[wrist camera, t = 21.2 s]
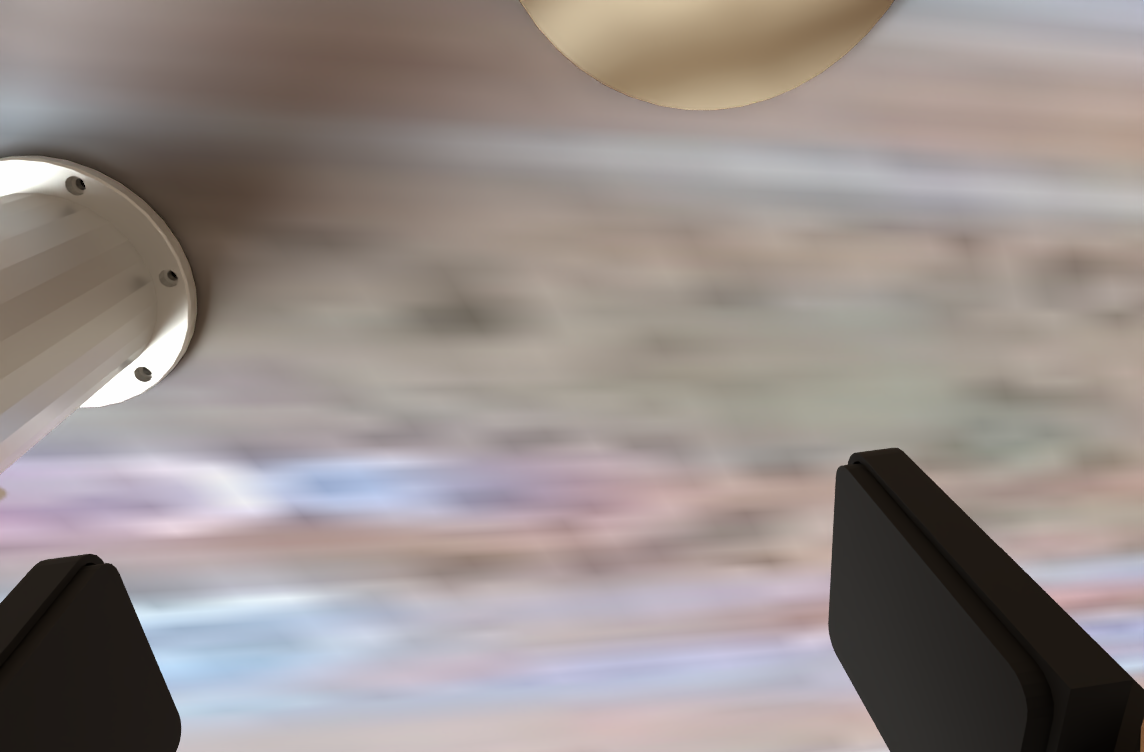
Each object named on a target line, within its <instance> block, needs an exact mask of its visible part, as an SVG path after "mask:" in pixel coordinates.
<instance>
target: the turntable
mask: <svg viewBox="0 0 1144 752" xmlns="http://www.w3.org/2000/svg"><path fill="white" fill-rule="evenodd" d="M519 1H520V3H521V4H522V5H523V7H524V8H525V10H526V11H527V13H528V14H529V16H530V17H531V19H532V20H533V21H534V23H535V24H536V26H537V27H538V29H539V30H540V31H541V32H542V33H543V34H544V35H545V36H546V37H547V39H548V40H549V41H550V42H551V43H552V44H553V45H554V46H555V48H556V49H557V50H558V51H559V52H560V53H562V54H563V55H564V56H565V57H566V58H567V59H569V60H570V61H571V62H572V63H573V64H574V65H576V66H577V67H578V68H579V69H580V70H582V71H583V72H585V73H587V74H588V75H590V76H591V77H593V78H594V79H596V80H597V81H599V82H600V83H602V84H604V85H606V86H608V87H610V88H612V89H614V90H616V91H619V92H621V93H623V94H625V95H627V96H630V97H633V98H636V99H639V100H642V101H646V102H649V103H652V104H656V105H659V106H665V107H671V108H678V109H684V110H719V109H727V108H735V107H742V106H746V105H749V104H753V103H757V102H760V101H764V100H768V99H770V98H773V97H775V96H778V95H780V94H782V93H785V92H787V91H789V90H792V89H794V88H796V87H798V86H800V85H801V84H803V83H805V82H807V81H808V80H810V79H812V78H814V77H815V76H817V75H819V74H820V73H822V72H823V71H824V70H826V69H827V68H828V67H830V66H831V65H832V64H834V63H835V62H836V61H838V60H839V59H840V58H842V57H843V56H844V55H846V54H847V53H848V52H849V51H850V50H851V49H852V48H853V47H854V46H855V45H856V44H857V43H858V42H859V41H860V40H861V39H862V38H863V37H864V36H865V35H867V34H868V32H869V31H870V30H871V29H872V28H873V26H874V25H875V24H876V23H877V22H878V20H879V19H880V18H881V17H882V16H883V15H884V13H885V12H886V11H887V10H888V9H889V7H890V6H891V4H892V3H893V1H894V0H519Z"/></svg>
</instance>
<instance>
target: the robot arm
mask: <svg viewBox="0 0 1144 752" xmlns="http://www.w3.org/2000/svg"><path fill="white" fill-rule="evenodd" d="M80 180H83V182H84V184H85V186H86V188H84V187H83V186H82V185H81V183H80ZM171 271H173V272H174V273H175V274H176V275H177V277H178V278H175V277H173V276H172V274H171ZM196 316H197V297H196V287H195V283H194V279H193V275H192V272H191V268H190V265H189V263H188V260H187V258H186V256H185V254H184V252H183V250H182V248H181V246H180V243H179V242H178V240H177V239H176V238H175V236H174V235H173V233H172V232H171V230H170V229H169V228H168V226H167V225H166V223H165V222H164V220H163V219H162V218H161V217H160V216H159V215H158V214H157V213H156V212H155V211H154V210H153V209H152V208H151V207H150V206H149V205H148V204H147V203H146V202H145V201H144V200H143V199H141V198H140V197H139V196H137V195H136V194H135V193H133V192H132V191H131V190H129V189H128V188H127V187H125V186H124V185H123V184H121V183H119V182H118V181H116V180H114V179H112V178H110V177H108V176H106V175H104V174H103V173H101V172H99V171H97V170H95V169H92V168H89V167H86V166H83V165H80V164H77V163H74V162H72V161H69V160H63V159H57V158H51V157H45V156H10V157H6V158H0V474H1V473H3V472H4V471H5V470H6V469H7V468H9V467H10V466H11V465H12V464H13V463H14V462H16V461H17V460H18V459H19V458H20V457H22V456H23V455H24V454H25V453H26V452H27V451H29V450H30V449H31V448H32V447H33V446H34V445H36V444H37V443H38V442H39V441H40V440H42V439H43V438H44V437H45V436H46V435H47V434H49V433H50V432H51V431H52V430H53V429H54V428H56V427H57V426H58V425H59V424H60V423H62V422H63V421H64V420H65V419H66V418H67V417H69V416H70V415H71V414H72V413H73V412H75V411H76V410H77V409H78V408H92V407H103V406H108V405H113V404H117V403H122V402H125V401H127V400H129V399H132V398H134V397H136V396H139V395H141V394H143V393H145V392H146V391H148V390H149V389H150V388H152V387H153V386H155V385H156V384H158V383H159V382H160V381H161V380H162V379H163V378H165V377H166V376H167V375H168V374H169V373H170V372H171V371H172V370H173V369H174V368H175V366H176V365H177V363H178V362H179V361H180V359H181V358H182V356H183V355H184V354H185V352H186V350H187V348H188V345H189V343H190V341H191V338H192V336H193V333H194V328H195V322H196ZM147 368H148V369H150V371H149V370H148V369H147ZM828 624H829V635H830V639H831V643H832V646H833V649H834V651H835V653H836V655H837V657H838V659H839V661H840V662H841V664H842V666H843V668H844V669H845V671H846V673H847V675H848V677H849V678H850V680H851V682H852V684H853V686H854V687H855V689H856V691H857V693H858V695H859V696H860V698H861V700H862V702H863V704H864V705H865V707H866V709H867V711H868V713H869V714H870V716H871V718H872V720H873V721H874V723H875V725H876V727H877V729H878V730H879V732H880V734H881V736H882V738H883V739H884V741H885V743H886V745H887V747H888V748H889V750H890V752H1144V689H1143V688H1142V687H1141V686H1140V685H1139V684H1138V683H1137V682H1136V681H1135V680H1134V679H1133V678H1132V677H1131V676H1130V675H1129V674H1128V673H1127V672H1126V671H1125V670H1124V669H1123V668H1122V667H1121V666H1120V665H1119V664H1118V663H1117V662H1116V661H1115V660H1114V659H1113V658H1112V657H1111V656H1110V655H1109V654H1108V653H1107V652H1106V651H1105V650H1104V649H1103V648H1102V647H1101V646H1100V645H1099V644H1098V643H1097V642H1096V641H1095V640H1094V639H1092V638H1091V637H1090V636H1089V635H1088V634H1087V633H1086V632H1085V631H1084V630H1083V629H1082V628H1081V627H1080V626H1079V625H1078V624H1077V623H1076V622H1075V621H1074V620H1073V619H1072V618H1071V617H1070V616H1069V615H1068V614H1067V613H1066V612H1065V611H1064V610H1063V609H1062V608H1061V607H1060V606H1059V605H1058V604H1057V603H1056V602H1055V601H1054V600H1053V599H1052V598H1051V597H1050V596H1049V595H1048V594H1047V593H1046V592H1045V591H1044V590H1043V589H1042V588H1041V587H1040V586H1039V585H1038V584H1037V583H1036V582H1035V581H1034V580H1033V579H1032V578H1031V577H1030V576H1029V575H1028V574H1027V573H1026V572H1025V571H1024V570H1023V569H1022V568H1021V567H1020V566H1019V565H1018V564H1017V563H1016V562H1015V561H1014V560H1013V559H1012V558H1011V557H1010V556H1009V555H1008V554H1007V553H1006V552H1005V551H1004V550H1003V549H1002V548H1000V547H999V546H998V545H997V544H996V543H995V542H994V541H993V540H992V539H991V538H990V537H989V536H988V535H987V534H986V533H985V532H984V531H983V530H982V529H981V528H980V527H979V526H978V525H977V524H976V523H975V522H974V521H973V520H972V519H971V518H970V517H969V516H968V515H967V514H966V513H965V512H964V511H963V510H962V509H961V508H960V507H959V506H958V505H957V504H956V503H955V502H954V501H953V500H952V499H951V498H950V497H949V496H948V495H947V494H946V493H945V492H944V491H943V490H942V489H941V488H940V487H938V486H937V485H936V484H935V483H934V482H933V481H932V480H931V479H930V478H929V477H928V476H927V475H926V474H925V473H924V472H923V471H922V470H921V469H920V468H919V467H918V466H917V465H916V464H915V463H914V462H913V461H912V460H911V459H910V458H909V457H908V456H907V455H906V454H905V453H904V452H903V451H902V450H900V449H899V448H888V449H881V450H873V451H865V452H858V453H854V454H852V455H851V456H850V459H849V461H848V465H844V466H840V467H839V468H838V470H837V473H836V485H835V505H834V524H833V544H832V563H831V583H830V602H829V622H828ZM180 737H181V720H180V717H179V713H178V711H177V709H176V706H175V704H174V702H173V699H172V697H171V695H170V692H169V690H168V687H167V685H166V683H165V680H164V678H163V676H162V673H161V671H160V669H159V666H158V664H157V662H156V659H155V657H154V654H153V652H152V650H151V647H150V645H149V643H148V640H147V638H146V636H145V633H144V631H143V628H142V626H141V624H140V621H139V619H138V617H137V614H136V612H135V610H134V607H133V605H132V603H131V600H130V598H129V595H128V593H127V591H126V588H125V586H124V584H123V581H122V579H121V577H120V574H119V572H118V570H117V569H116V567H114V566H113V565H112V564H109V563H105V564H104V562H103V561H102V559H100V558H99V557H98V556H97V555H93V554H85V555H78V556H70V557H63V558H55V559H47V560H44V561H40V562H39V563H38V564H36V565H35V566H34V567H33V568H32V569H31V570H30V571H29V572H28V573H27V575H26V576H25V577H24V578H23V579H22V580H21V581H20V582H19V583H18V584H17V586H16V587H15V588H14V589H13V590H12V591H11V592H10V593H9V594H8V596H7V597H6V598H5V599H4V600H3V601H2V602H1V603H0V752H176V750H177V748H178V745H179V742H180Z"/></svg>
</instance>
